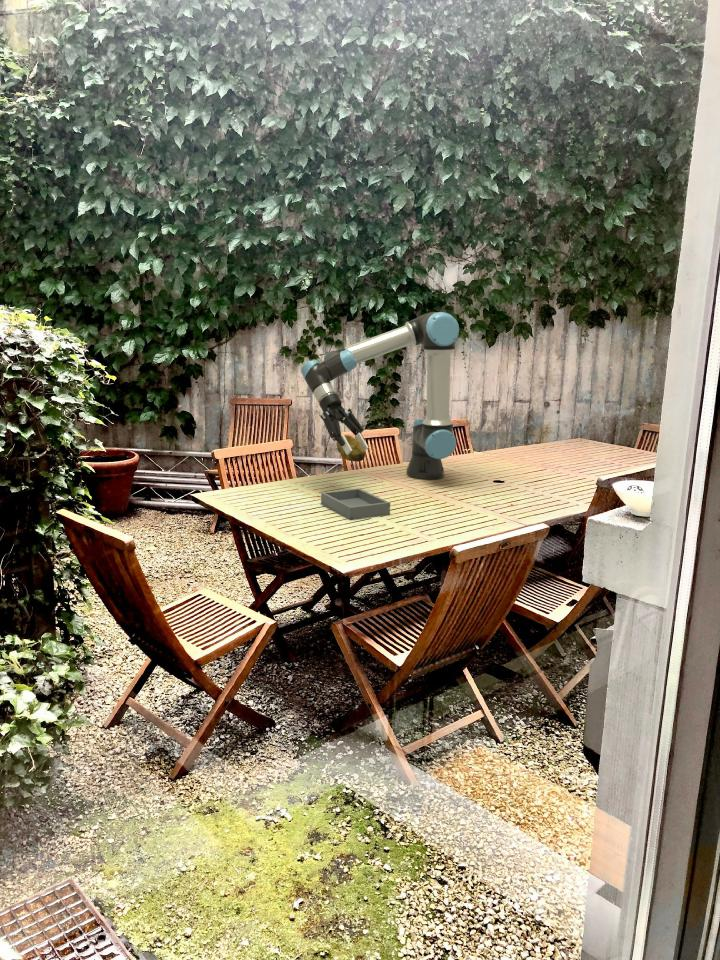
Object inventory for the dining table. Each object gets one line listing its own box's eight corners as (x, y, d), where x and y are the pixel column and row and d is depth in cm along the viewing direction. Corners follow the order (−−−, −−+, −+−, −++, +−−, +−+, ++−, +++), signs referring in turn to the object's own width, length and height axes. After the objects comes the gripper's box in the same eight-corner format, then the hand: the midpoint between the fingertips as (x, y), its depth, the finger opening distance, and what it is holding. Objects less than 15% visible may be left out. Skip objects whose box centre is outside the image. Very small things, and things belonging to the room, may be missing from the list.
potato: (343, 463, 242) (344, 440, 240) (333, 455, 253) (334, 433, 251) (366, 463, 244) (368, 440, 242) (355, 455, 256) (356, 433, 254)
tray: (320, 504, 240) (321, 492, 239) (358, 499, 247) (359, 488, 246) (350, 519, 223) (350, 507, 222) (389, 514, 231) (390, 502, 230)
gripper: (342, 403, 262) (371, 453, 255) (301, 407, 248) (331, 460, 241) (353, 390, 257) (383, 441, 251) (311, 394, 243) (342, 448, 236)
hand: (357, 451), depth 246 cm, fingers closed on potato, 7 cm apart
